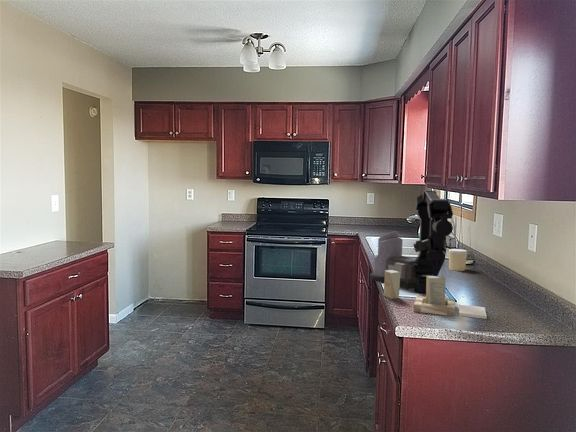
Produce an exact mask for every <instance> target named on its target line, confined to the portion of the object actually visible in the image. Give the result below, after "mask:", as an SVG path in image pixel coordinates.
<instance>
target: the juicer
mask: <svg viewBox="0 0 576 432" xmlns="http://www.w3.org/2000/svg"><path fill="white" fill-rule="evenodd" d="M399 234H400V233H399V232H398V231H390V232H387V233H385V234H382V235H381V236H380V237H379V238H378V241H377V244H378V245H377V255H376V256H375V257H374V258H373V269H372V271H373V272H371V273H370V275H369V276H370V279H372V280H373V281H377V282H384V279H385V270H394V271H398V272H400V287H399V288H402V289H406V290H411V289H412V290H413V289H414V290H415V288H416V278H414V277H413V276H412V270H413V266H414V264H415V260H416V258H412V257H409V256H404V255H403V238H401V237H399ZM416 275H417V274H416Z"/></svg>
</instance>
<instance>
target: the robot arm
mask: <svg viewBox="0 0 576 432" xmlns="http://www.w3.org/2000/svg"><path fill="white" fill-rule="evenodd" d="M414 210H415V211H416V212H415V214H416V216H417V218H418V220H419V240H415V242H414V243H413V244H412V245H413V248H414V251H415V253H418V255H417V257H415V259H416V260H415V264H414V266H413V270H412V276H413V277H414V278H416V288H414V291H413V292H414V293H420V294H426V276H439V273H440V271H441V270H442V268H443V265H444V263H445V260H446V254H447V247H446V240H447V239H446V238H447V237H448V236H449V235H451V234H452V232H453V229H454V226H453V224H452V222H451V221H450V220H449V219H453V216H454V213H453V208H452V205H451V203H450V201H449V200H448V199H445V198H441V197H439V195H438V194H437V191H435V190H424V191H422V194H420V195H419V196H417V197H416V199H415V203H414ZM416 274H417V275H416Z"/></svg>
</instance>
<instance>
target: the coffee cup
mask: <svg viewBox="0 0 576 432" xmlns="http://www.w3.org/2000/svg"><path fill="white" fill-rule="evenodd" d="M467 255H468V251H467V250H466V249H462V248H461V249H460V248H449V250H448V269H449V270H451V271H457V272H459V271H460V272H463V271H466V267H467V266H466V263H467Z"/></svg>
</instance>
